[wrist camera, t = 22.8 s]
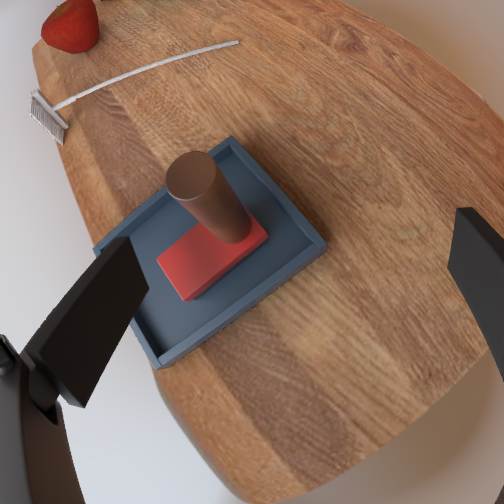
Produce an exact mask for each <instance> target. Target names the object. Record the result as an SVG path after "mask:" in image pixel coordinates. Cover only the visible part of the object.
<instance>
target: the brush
mask: <svg viewBox="0 0 504 504" xmlns="http://www.w3.org/2000/svg"><path fill="white" fill-rule="evenodd" d="M235 44H238V40H234V41H229V42H225V43H220V44H216V45H212V46H208V47H204V48H201V49H197V50H193V51H190V52H186V53H183V54H179V55H176V56H173V57H170V58H166V59H163V60H160V61H157V62H154V63H151V64H149V65H146V66H143V67H140V68H138V69H135V70H132V71H130V72H127V73H124V74H122V75H119V76H117V77H114V78H112V79H110V80H107V81H105V82H103V83H100V84H98V85H96V86H94V87H91V88H89V89H87V90H85V91H83V92H81V93H79V94H77V95H76V94H75V95H73V96H71V97H69V98H67V99H65V100H63V101H61V102H59V103H57V104H55V105H54V106H53V105H52V104H51V103H50V102H49V101H48V100H47V98H46V97H45V96H44V95H43V94H42V93H41V91H40V90H39V89H36V90H34V91H33V92H31V97H30V107H29V114H31V116H33V118H35V120H37V122H39V124H41V126H43V128H45V130H47V132H48V131H49V134H50V133H51V135H52V137H54V139H56V141H57V140H58V142H60V144H61V145H64V143H63V131H64V129H67V128H69V123H68V122H67V121H66V120H65V119H64V118H63V116H62V115H61V114H60V113H59V112H58V111H57V110H58V109H60V108H62V107H64V106H66V105H68V104H70V103H72V102H74V101H76V100H77V99H78V98H80V97H82V96H84V95H86V94H88V93H91V92H93V91H95V90H97V89H99V88H102V87H104V86H106V85H109V84H111V83H114V82H116V81H118V80H121V79H123V78H126V77H128V76H131V75H134V74H136V73H139V72H142V71H145V70H147V69H150V68H153V67H156V66H159V65H162V64H165V63H168V62H171V61H174V60H178V59H181V58H184V57H188V56H191V55H195V54H199V53H202V52H206V51H210V50H214V49H218V48H222V47H226V46H231V45H235Z"/></svg>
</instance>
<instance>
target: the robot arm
mask: <svg viewBox="0 0 504 504" xmlns="http://www.w3.org/2000/svg"><path fill="white" fill-rule="evenodd" d="M447 269H448V270H449V272H450V274H451V275H452V277H453V279H454V280H455V282H456V284H457V286H458V287H459V289H460V291H461V293H462V295H463V296H464V298H465V300H466V302H467V304H468V306H469V308H470V309H471V311H472V313H473V315H474V317H475V319H476V321H477V323H478V325H479V327H480V329H481V331H482V333H483V335H484V337H485V340H486V342H487V344H488V346H489V348H490V350H491V352H492V354H493V357H494V359H495V362H496V364H497V366H498V368H499V371H500V374H501V376H502V378H503V381H504V239H503V238H502V237H501V236H500V235H499V234H498V233H497V232H496V231H495V230H494V229H493V228H492V227H491V226H490V225H489V223H488V222H487V221H486V220H485V219H484V218H483V217H482V216H481V215H480V214H479V213H478V212H477V211H476V210H475V209H474V208H473V207H465V208H456V216H455V224H454V231H453V238H452V244H451V251H450V256H449V262H448V267H447ZM149 289H150V288H149V286H148V283H147V281H146V278H145V276H144V273H143V271H142V269H141V266H140V263H139V261H138V258H137V256H136V253H135V251H134V248H133V245H132V243H131V240H130V237H129V236H125V237H117V238H114V239H113V240H112V241H111V243H110V244H109V245H108V246H107V247H106V248H105V249H104V250H103V251H102V252H101V254H100V255H99V256H98V257H97V258H96V259H95V260H94V262H93V263H92V264H91V265H90V266H89V267H88V269H87V270H86V271H85V272H84V273H83V274H82V275H81V277H80V278H79V279H78V280H77V281H76V283H75V284H74V285H73V287H71V289H70V290H69V291H68V292H67V294H66V295H65V296H64V297H63V298H62V300H61V301H60V302H59V304H58V305H57V306H56V307H55V308H54V309H53V310H52V312H51V313H50V314H49V315H48V317H47V318H46V320H45V321H44V322H43V323H42V325H41V326H40V328H39V329H38V330H37V331H36V333H35V334H34V335H33V336H32V338H31V339H30V341H29V342H28V343H27V345H26V346H25V348H24V349H23V350H22V352H21V353H20V354H18V353H17V352H16V350H15V349H14V347H13V346H12V345H11V343H10V342H9V340H8V339H7V338H6V336H4V335H1V334H0V504H85V501H84V498H83V494H82V491H81V488H80V485H79V482H78V478H77V475H76V471H75V467H74V464H73V460H72V456H71V452H70V448H69V443H68V439H67V434H66V429H65V424H64V419H63V414H62V408H61V405H60V403H59V402H58V401H57V398H58V396H59V394H60V395H61V396H62V397H63V398H64V399H65V400H66V401H67V403H69V404H70V405H74V406H77V407H81V408H85V407H86V405H87V402H88V400H89V398H90V396H91V395H92V393H93V391H94V389H95V387H96V384H97V383H98V381H99V379H100V377H101V375H102V373H103V371H104V369H105V367H106V365H107V363H108V362H109V360H110V358H111V356H112V354H113V352H114V351H115V349H116V347H117V345H118V343H119V341H120V340H121V338H122V336H123V334H124V332H125V331H126V329H127V327H128V325H129V324H130V322H131V320H132V318H133V316H134V315H135V313H136V311H137V309H138V308H139V306H140V304H141V303H142V301H143V299H144V297H145V296H146V294H147V292H148V291H149ZM495 504H504V486H503V488H502V490H501V492H500V494H499V496H498V498H497V500H496V502H495Z"/></svg>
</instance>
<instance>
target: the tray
mask: <svg viewBox="0 0 504 504" xmlns="http://www.w3.org/2000/svg"><path fill="white" fill-rule="evenodd" d="M207 154H209V155H210V156H211V157H212V158H213V159H214V160H215V162H216V163H217V165H218V167H219V168H220V170H221V171H222V173H223V175H224V176H225V178H226V179H227V181H228V183H229V184H230V186H231V187H232V189H233V191H234V192H235V194H236V195H237V197H238V199H239V200H240V202H241V203H242V204H243V205H244V206H245V208H246V209H247V210H248V211H249V212H250V213H251V214H252V216H253V217H254V218H255V219H256V220H257V221H258V223H259V224H260V225H261V226H262V227H263V228H264V230H265V231H266V232H267V234H268V236H269V237H268V238H267V240H268V242H267V243H266V244H265V245H264V246H262V247H261V248H260V249H259V250H258V251H256V252H255V253H254V254H253V255H251V256H250V257H249V258H248V259H246V260H245V261H244V262H243V263H242V264H240V265H239V266H238V267H237V268H235V269H234V270H233V271H232V272H231V273H229V274H228V275H227V276H226V277H224V278H223V279H222V280H221V281H220V282H218V283H217V284H216V285H215V286H213V287H212V288H211V289H210V290H208V291H207V292H206V293H205V294H204V295H202V296H201V297H200V298H199V299H197V300H193V299H192V300H191V301H190V302H186V301H183V300H182V298H181V297H180V295H179V294H178V292H177V291H176V289H175V288H174V286H173V285H172V283H171V282H170V280H169V279H168V277H167V276H166V274H165V272H164V271H163V269H162V268H161V266H160V265H159V263H158V262H157V260H156V259H157V258H158V257H159V256H160V255H161V254H162V253H164V252H165V251H166V250H167V249H168V248H169V247H171V246H172V245H173V244H174V243H175V242H176V241H177V240H179V239H180V238H181V237H182V236H183V235H185V234H186V233H187V232H188V231H189V230H190V229H192V228H193V227H194V226H195V225H196V224H198V223H199V221H198V220H197V219H196V218H195V217H194V216H193V215H192V214H191V213H190V212H188V211H187V210H186V209H185V208H184V207H183V206H182V205H181V204H180V203H179V202H178V201H176V200H175V199H174V198H173V197H172V196H171V195H170V194H169V192H168V191H167V188H166V185H165V186H164V187H162V188H161V189H160V190H159V191H157V192H156V193H155V194H154V195H153V196H151V197H150V198H149V199H148V200H147V201H145V202H144V203H143V204H142V205H141V206H139V207H138V208H137V209H136V210H135V211H134V212H132V213H131V214H130V215H129V216H128V217H127V218H125V219H124V220H123V221H122V222H121V223H120V224H119V225H118V226H116V227H115V228H114V229H113V230H112V231H111V232H110V233H109V234H108V235H106V236H105V237H104V238H103V239H102V240H101V241H100V242H99V243H98V244H97V245H96V246H95V247H94V248H93V251H94V253H95V255H96V258H97V257H98V256H99V255H100V254H101V252H102V251H103V250H104V249H105V248H106V247H107V246H108V245H109V244H110V243H111V241H112V240H113V239H114V238H117V237H125V236H129V237H130V240H131V243H132V245H133V248H134V251H135V253H136V256H137V258H138V261H139V263H140V266H141V269H142V271H143V273H144V276H145V278H146V281H147V283H148V286H149V288H150V289H149V291H148V292H147V294H146V296H145V297H144V299H143V301H142V303H141V304H140V306H139V308H138V309H137V311H136V313H135V315H134V316H133V318H132V320H131V322H130V324H129V325H130V326H131V328H132V330H133V332H134V334H135V336H136V337H137V339H138V341H139V343H140V344H141V346H142V348H143V350H144V351H145V353H146V355H147V356H148V358H149V360H150V362H151V363H152V365H153V367H154V368H155V370H159V369H164V368H168V367H169V366H171V365H172V364H174V363H175V362H177V361H178V360H180V359H181V358H182V357H184V356H185V355H187V354H188V353H190V352H191V351H193V350H194V349H195V348H197V347H198V346H200V345H201V344H202V343H204V342H205V341H207V340H208V339H210V338H211V337H212V336H214V335H215V334H217V333H218V332H219V331H221V330H222V329H223V328H225V327H226V326H228V325H229V324H230V323H232V322H233V321H235V320H236V319H237V318H239V317H240V316H241V315H243V314H244V313H245V312H247V311H248V310H250V309H251V308H252V307H254V306H255V305H256V304H258V303H259V302H260V301H262V300H263V299H264V298H266V297H267V296H268V295H270V294H271V293H272V292H274V291H275V290H276V289H278V288H279V287H280V286H282V285H283V284H284V283H286V282H287V281H288V280H290V279H291V278H292V277H294V276H295V275H296V274H297V273H299V272H300V271H301V270H303V269H304V268H305V267H307V266H308V265H309V264H310V263H312V262H313V261H314V260H316V259H317V258H318V257H319V256H321V255H322V254H323V253H325V252H326V251H327V243H326V241H325V240H324V239H323V238H322V237H321V235H320V234H319V233H318V232H317V231H316V229H315V228H314V227H313V226H312V225H311V223H310V222H309V221H308V220H307V219H306V218H305V216H304V215H303V214H302V213H301V212H300V210H299V209H298V208H297V207H296V206H295V205H294V204H293V202H292V201H291V200H290V199H289V198H288V197H287V195H286V194H285V193H284V192H283V191H282V190H281V189H280V187H279V186H278V185H277V184H276V183H275V182H274V181H273V180H272V178H271V177H270V176H269V175H268V174H267V173H266V172H265V171H264V169H263V168H262V167H261V166H260V165H259V164H258V163H257V162H256V161H255V160H254V158H253V157H252V156H251V155H250V154H249V153H248V152H247V151H246V150H245V149H244V148H243V146H242V145H241V144H240V143H239V142H238V141H237V140H236V139H235V138H234V137H233V136H232V135H231V136H230V137H228V138H227V139H225V140H224V141H223V142H221V143H220V144H218V145H217V146H216V147H214V148H213V149H212V150H210V151H209V152H208V153H207Z"/></svg>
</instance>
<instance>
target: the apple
mask: <svg viewBox="0 0 504 504" xmlns="http://www.w3.org/2000/svg"><path fill="white" fill-rule="evenodd" d="M98 36H99V24H98V16H97V11H96V7H95V4H94V3H93V1H92V0H67V1H65V2H64V3H63V4H61V5H60V6H57V8H56V9H55V11H53V12H52V13H51V15H50V16H49V17H48V18H47V20H46V21H45V22H44V23H43V26H42V30H41V37H42V38H43V39H44V41H45V42H46V43H47V45H50V46H52V47H54V48H57V49H59V50H62V51H65V52H68V53H71V54H77V53H81V52H85V51H87V50H89V49H91V48H92V47H93V46H94V45H95V44H96V42H97V39H98Z"/></svg>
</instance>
